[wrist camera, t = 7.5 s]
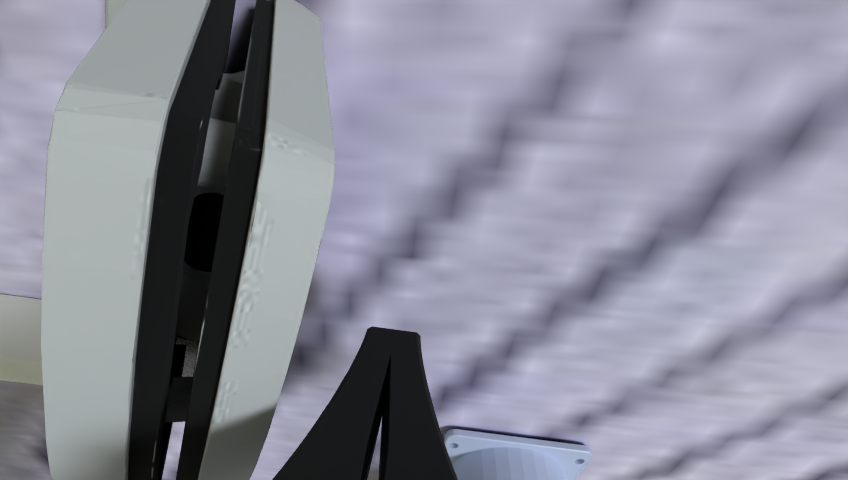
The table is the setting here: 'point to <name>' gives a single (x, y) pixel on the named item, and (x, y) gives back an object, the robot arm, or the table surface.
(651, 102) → the table surface
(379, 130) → the table surface
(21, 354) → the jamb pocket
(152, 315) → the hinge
